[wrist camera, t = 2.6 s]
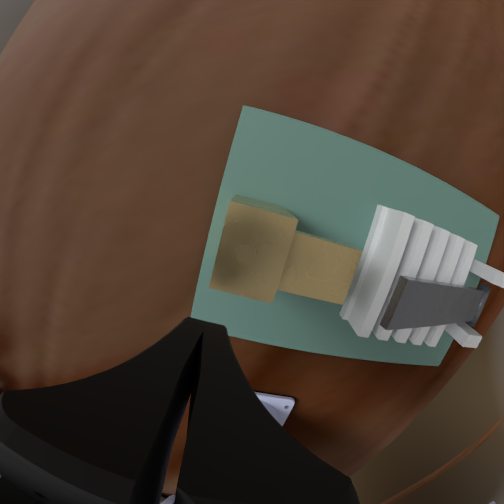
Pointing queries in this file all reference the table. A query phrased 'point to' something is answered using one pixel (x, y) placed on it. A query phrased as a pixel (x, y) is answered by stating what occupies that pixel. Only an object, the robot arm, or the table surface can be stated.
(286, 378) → the table surface
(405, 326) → the strap
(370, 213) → the board
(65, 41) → the table surface
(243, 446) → the robot arm
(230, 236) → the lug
